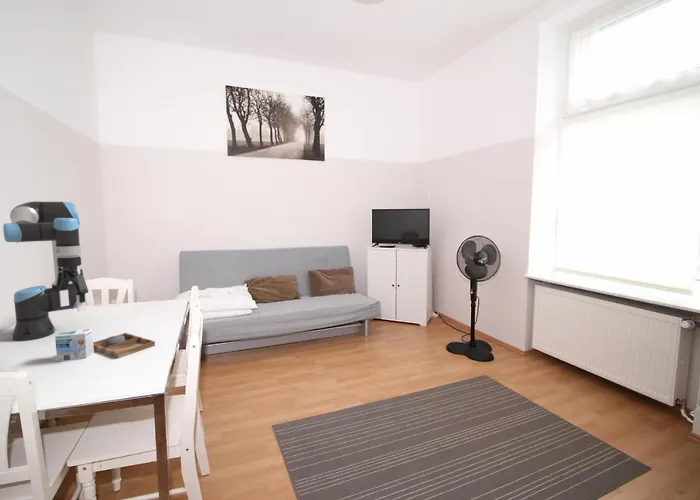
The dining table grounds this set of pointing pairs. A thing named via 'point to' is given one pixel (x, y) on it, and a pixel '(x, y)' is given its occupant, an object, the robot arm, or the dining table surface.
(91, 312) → the dining table surface
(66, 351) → the light bulb box
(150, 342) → the wooden divided tray
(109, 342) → the grey smooth rounded part
